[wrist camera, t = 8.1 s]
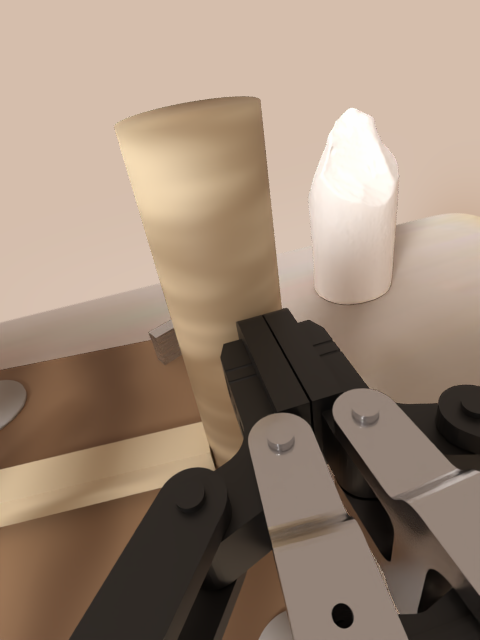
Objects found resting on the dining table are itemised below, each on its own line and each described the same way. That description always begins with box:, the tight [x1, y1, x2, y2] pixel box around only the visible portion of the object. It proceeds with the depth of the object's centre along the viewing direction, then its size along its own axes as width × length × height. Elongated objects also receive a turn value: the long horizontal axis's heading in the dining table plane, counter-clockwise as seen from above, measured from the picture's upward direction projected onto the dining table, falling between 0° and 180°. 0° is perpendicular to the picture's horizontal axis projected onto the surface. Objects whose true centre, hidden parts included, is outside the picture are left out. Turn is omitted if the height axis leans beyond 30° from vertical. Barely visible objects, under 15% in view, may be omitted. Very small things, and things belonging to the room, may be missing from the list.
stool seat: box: [0, 340, 293, 640], centre depth 18 cm, size 19×19×2 cm
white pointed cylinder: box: [308, 108, 399, 304], centre depth 28 cm, size 6×12×6 cm
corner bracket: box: [149, 320, 182, 365], centre depth 23 cm, size 4×4×2 cm
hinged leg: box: [0, 96, 282, 527], centre depth 13 cm, size 16×4×13 cm, turn 101°
